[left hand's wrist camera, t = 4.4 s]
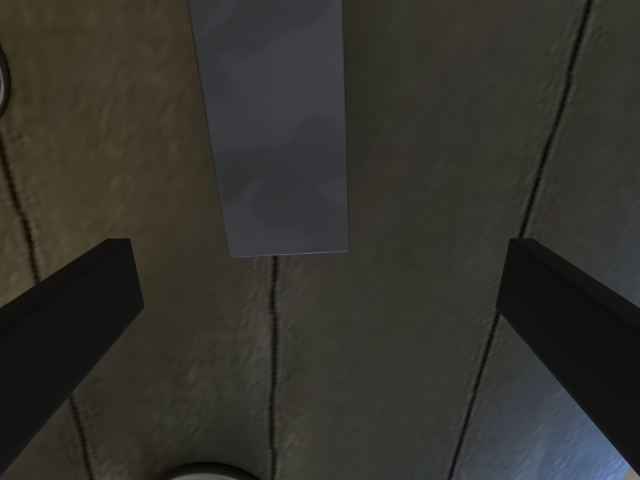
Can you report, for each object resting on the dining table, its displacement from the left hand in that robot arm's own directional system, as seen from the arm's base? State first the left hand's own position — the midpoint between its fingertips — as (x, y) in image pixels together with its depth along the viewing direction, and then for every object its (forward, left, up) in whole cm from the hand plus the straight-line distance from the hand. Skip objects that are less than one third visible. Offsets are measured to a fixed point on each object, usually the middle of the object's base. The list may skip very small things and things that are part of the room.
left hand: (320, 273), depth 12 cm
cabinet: (-2, +7, -18) cm, 19 cm away
